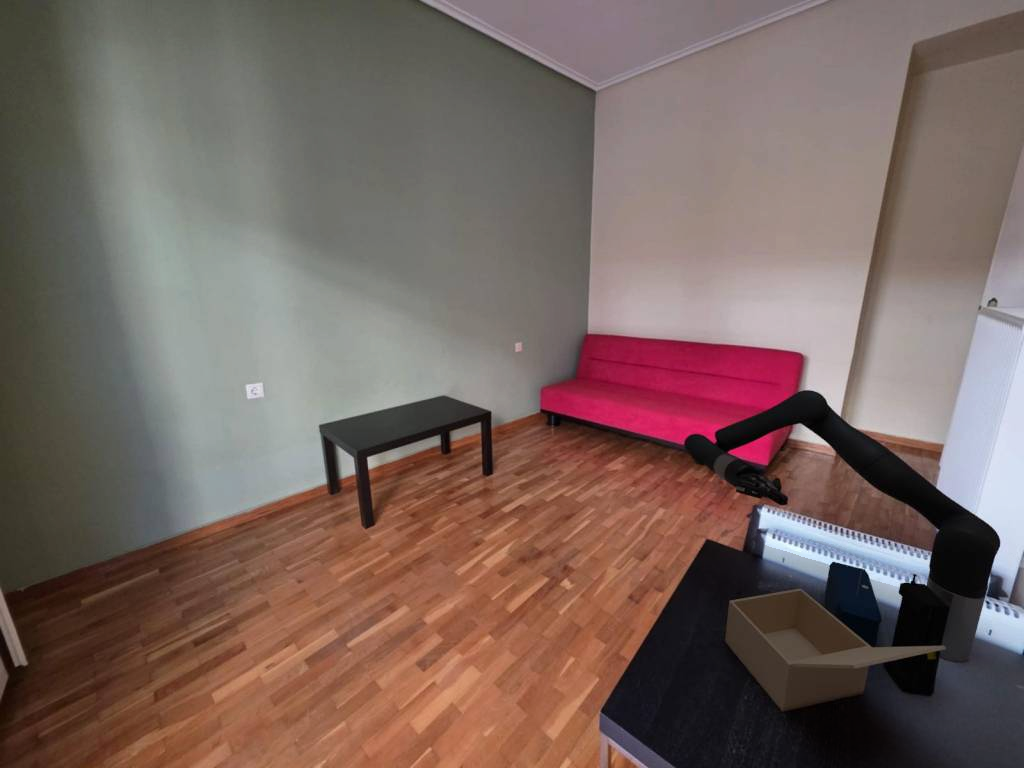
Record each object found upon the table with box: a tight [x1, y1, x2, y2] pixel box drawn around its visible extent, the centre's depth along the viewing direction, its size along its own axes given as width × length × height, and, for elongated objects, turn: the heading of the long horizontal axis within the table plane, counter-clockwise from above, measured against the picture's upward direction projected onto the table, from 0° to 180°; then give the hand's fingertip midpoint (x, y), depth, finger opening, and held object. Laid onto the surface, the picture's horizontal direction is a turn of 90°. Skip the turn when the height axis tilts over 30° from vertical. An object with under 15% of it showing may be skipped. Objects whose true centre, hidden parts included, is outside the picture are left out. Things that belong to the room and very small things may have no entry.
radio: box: [824, 561, 883, 647], centre depth 106 cm, size 21×9×20 cm, turn 148°
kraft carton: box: [724, 588, 871, 713], centre depth 96 cm, size 18×20×12 cm
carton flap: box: [792, 646, 946, 668], centre depth 79 cm, size 16×19×1 cm
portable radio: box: [883, 573, 950, 697], centre depth 89 cm, size 8×6×25 cm
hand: (785, 501), depth 100 cm, fingers closed
